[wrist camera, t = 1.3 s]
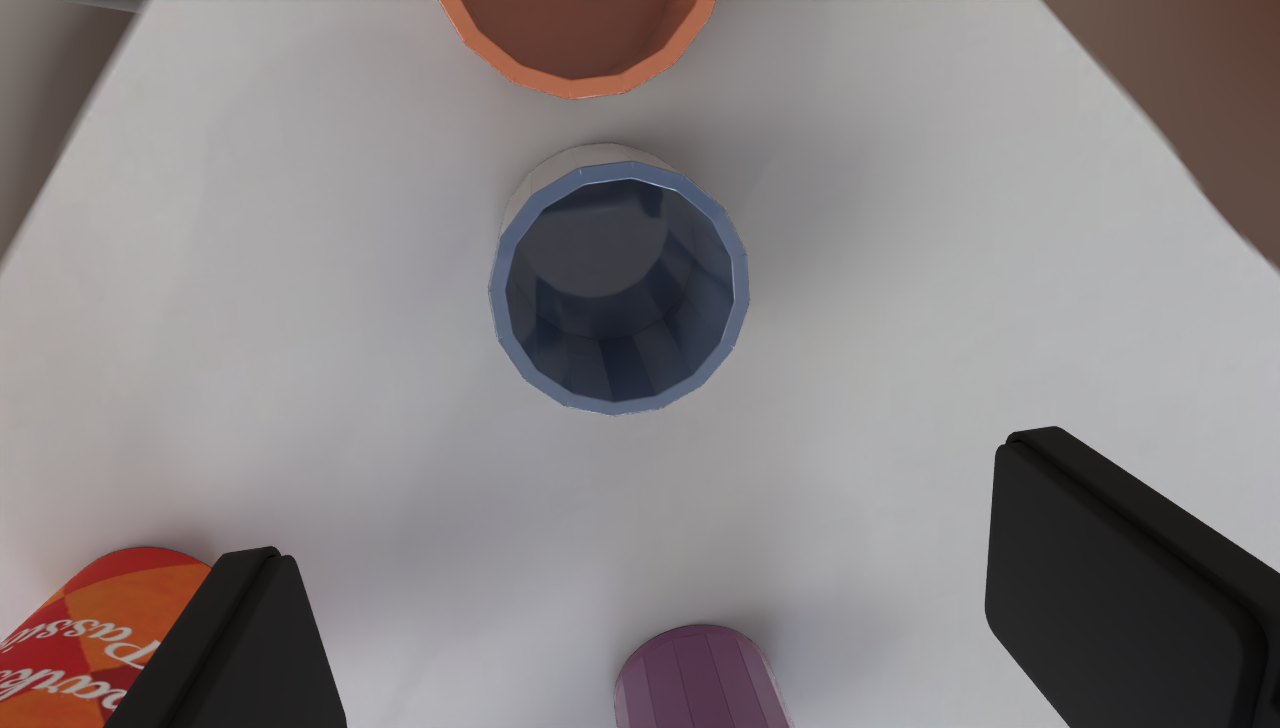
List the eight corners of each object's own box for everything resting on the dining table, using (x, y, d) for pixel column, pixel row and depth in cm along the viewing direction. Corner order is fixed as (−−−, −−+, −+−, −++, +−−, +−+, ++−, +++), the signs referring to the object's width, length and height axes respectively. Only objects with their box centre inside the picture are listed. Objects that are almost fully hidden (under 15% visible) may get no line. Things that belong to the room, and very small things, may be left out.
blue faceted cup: (457, 268, 25) (437, 323, 20) (583, 97, 24) (598, 103, 18) (619, 380, 27) (642, 458, 22) (742, 229, 26) (800, 270, 20)
